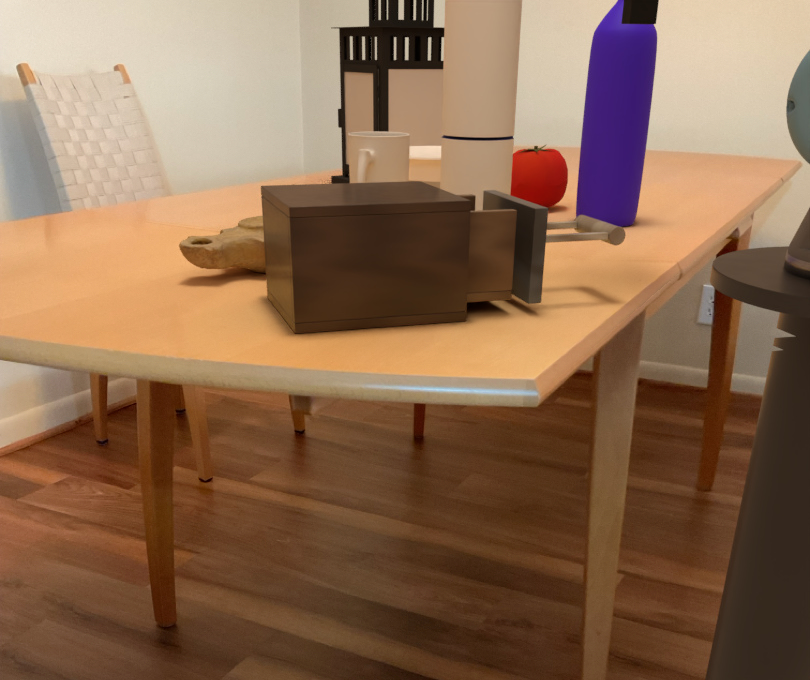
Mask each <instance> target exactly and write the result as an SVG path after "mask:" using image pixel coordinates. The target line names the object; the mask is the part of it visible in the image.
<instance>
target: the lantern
mask: <svg viewBox="0 0 810 680" xmlns="http://www.w3.org/2000/svg"><path fill="white" fill-rule="evenodd" d="M414 1H415V3H414ZM399 3H400V1H399V0H380V4H379V0H368V26H367V25H364V26H339V27H337V26H336V27H332V29H338V33H339V35H338V36H339V39H338V40H339V41H338V42H339V81H340V84H339V85H340V108H337V127H338V128H339V129H341V131H340V132H341V171H342V172H341V173H342V174H339V175H330V182H331V183H330V184H339V183H350V174H349V141H348V134H349V133H353V132H372V131H380V132H402V133H408V134H410V146H441V141H442V136H444V135H442V102H443V63H444V60H442V47H443V46H442V45H443V44H442V43H443V42H442V40H443V39H442V38H444V27H438V26H437V27H436V26H435V0H403V19H399V8H400V7H399V5H400V4H399ZM414 4H415V6H414ZM379 5H380V6H379ZM379 7H380V9H379ZM414 7H415V8H414ZM414 9H415V12H414ZM379 10H380V17H379ZM414 13H415V16H414ZM414 17H415V19H414ZM379 18H380V19H379ZM434 26H435V27H434ZM351 37H352V59H351ZM363 38H364V59H363ZM406 38H408V46H407V47H408V55H407V56H408V57H407V58H408V59H406ZM429 38H430V60H429ZM395 44H396V45H395Z"/></svg>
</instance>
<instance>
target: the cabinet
mask: <svg viewBox="0 0 810 680" xmlns="http://www.w3.org/2000/svg"><path fill="white" fill-rule="evenodd" d="M260 196H261V213H262V215H261V216H263V231H264V248H265V264H266V273H265V278H266V279H265V280H266V295H267V296H266V297H267V299H268V300H269V302H270V303H271V305H273V307H274V308H275V309H276V310H277V312H278V313H279V314H280V316H281V317H282V318H283V319H284V321H285V322H286V324H287V325H288V327H290V328H291V330H292V331H293V333H294V334H308V333H309V334H310V333H320V332H321V333H322V332H334V331H349V330H364V329H376V328H390V327H403V326H415V325H429V324H444V323H455V322H458V323H459V322H467V308H468V302H467V286H468V262H469V238H470V214H471V212H470V210H471V200H468V199H465V198H463V197H460V196H458V195H455V194H452V193H450V192H447V191H445V190H442V189H439V188H437V187H434V186H432V185H429V184H426V183H424V182H421V181H408V182H373V183H339V184H333V183H307V184H277V185H274V184H273V185H260Z"/></svg>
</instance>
